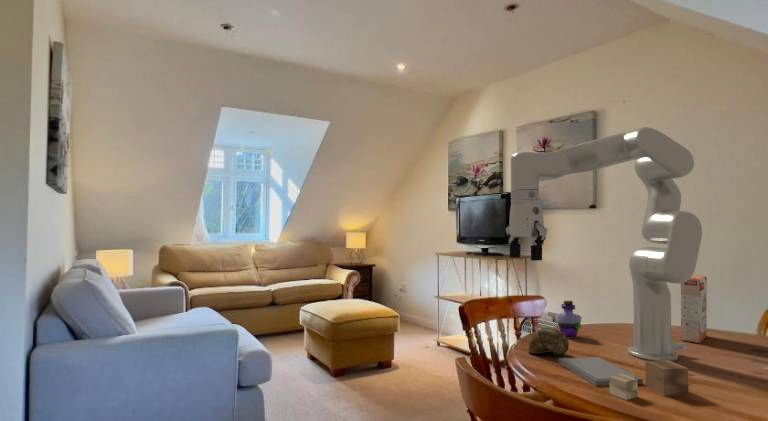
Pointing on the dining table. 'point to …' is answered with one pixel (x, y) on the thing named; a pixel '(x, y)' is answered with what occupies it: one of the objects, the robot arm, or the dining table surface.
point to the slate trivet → (595, 369)
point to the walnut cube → (666, 377)
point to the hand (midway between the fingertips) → (525, 258)
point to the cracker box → (694, 309)
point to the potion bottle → (568, 320)
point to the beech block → (623, 386)
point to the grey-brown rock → (548, 341)
